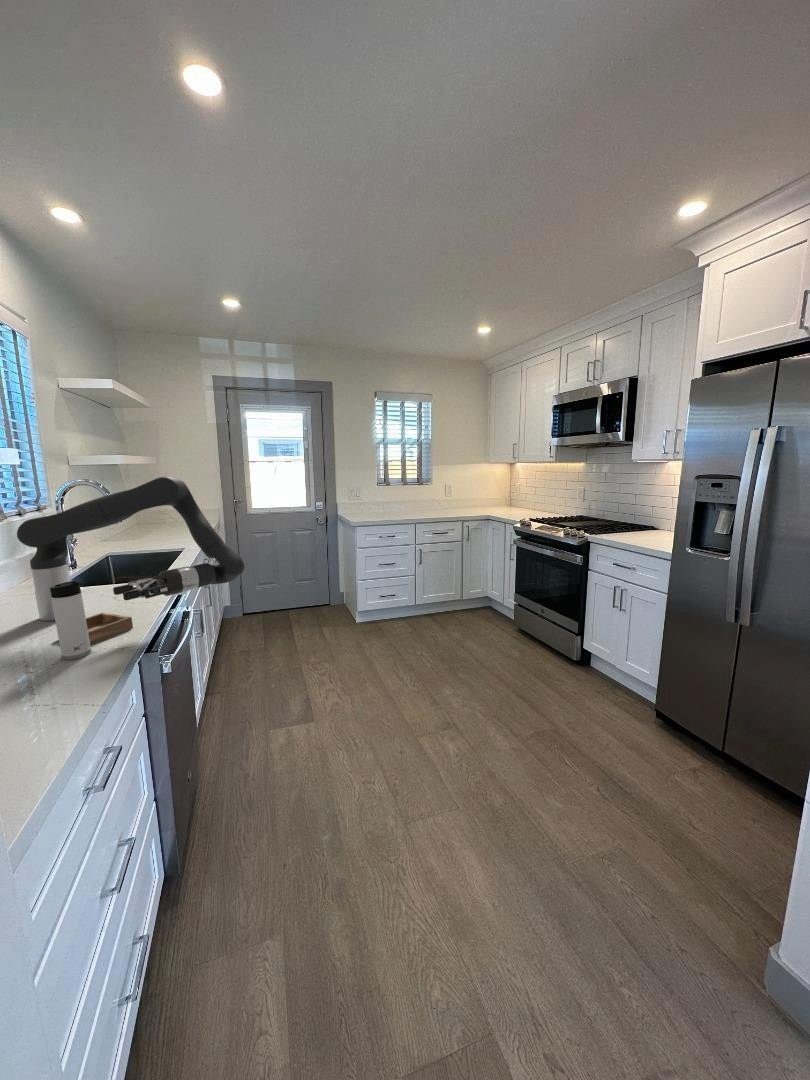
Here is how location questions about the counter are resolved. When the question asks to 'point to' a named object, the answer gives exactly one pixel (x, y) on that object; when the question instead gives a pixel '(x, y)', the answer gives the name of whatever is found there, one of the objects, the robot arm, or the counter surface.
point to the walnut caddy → (106, 626)
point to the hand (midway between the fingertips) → (118, 594)
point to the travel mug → (70, 620)
